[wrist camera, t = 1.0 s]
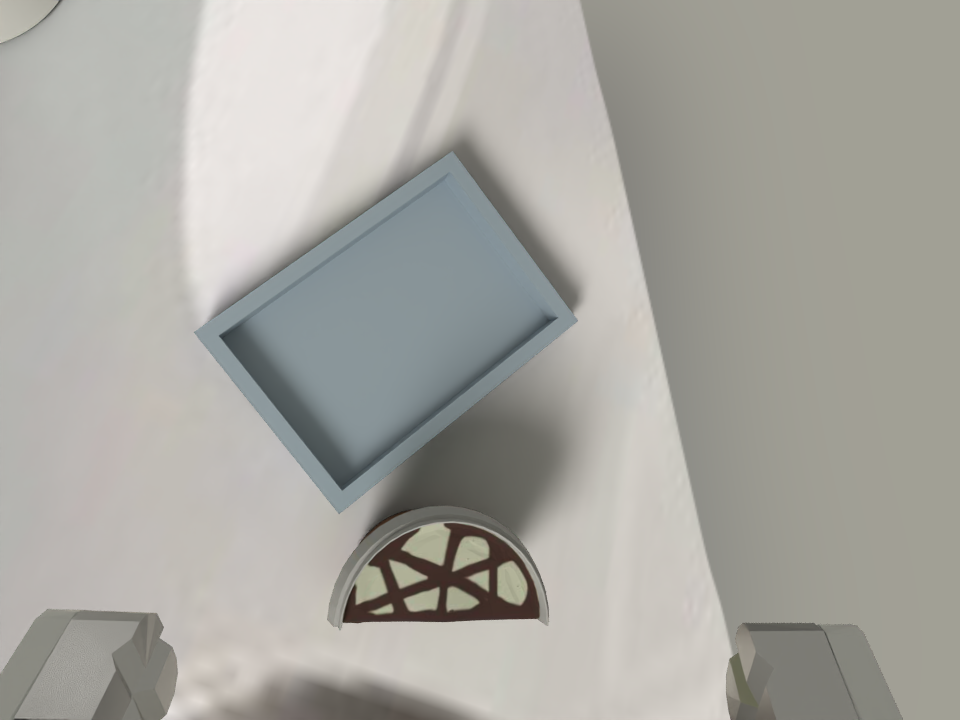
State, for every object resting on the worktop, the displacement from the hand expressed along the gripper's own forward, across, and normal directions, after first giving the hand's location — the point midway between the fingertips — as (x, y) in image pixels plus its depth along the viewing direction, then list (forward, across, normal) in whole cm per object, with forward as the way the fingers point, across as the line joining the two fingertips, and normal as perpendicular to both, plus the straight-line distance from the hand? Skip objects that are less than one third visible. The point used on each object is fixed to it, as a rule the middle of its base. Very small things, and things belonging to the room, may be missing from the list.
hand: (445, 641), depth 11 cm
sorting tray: (+36, +7, +17) cm, 40 cm away
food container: (+28, +5, +28) cm, 40 cm away
